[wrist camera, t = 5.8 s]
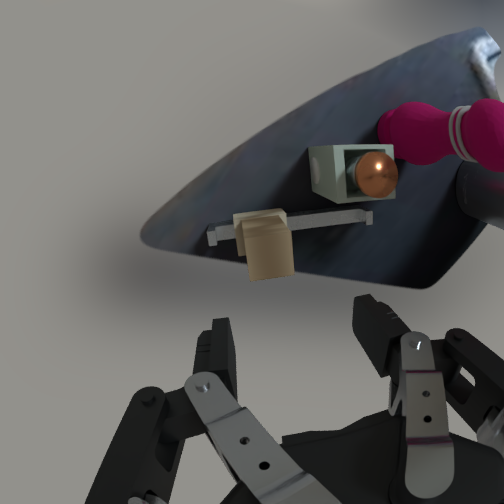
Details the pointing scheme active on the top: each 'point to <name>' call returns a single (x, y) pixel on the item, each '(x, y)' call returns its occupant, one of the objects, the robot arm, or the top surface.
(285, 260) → the carriage
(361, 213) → the rail
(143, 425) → the robot arm
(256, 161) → the top surface
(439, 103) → the top surface
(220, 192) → the top surface
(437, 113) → the pepper mill
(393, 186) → the plunger
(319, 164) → the cabinet
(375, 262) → the top surface
